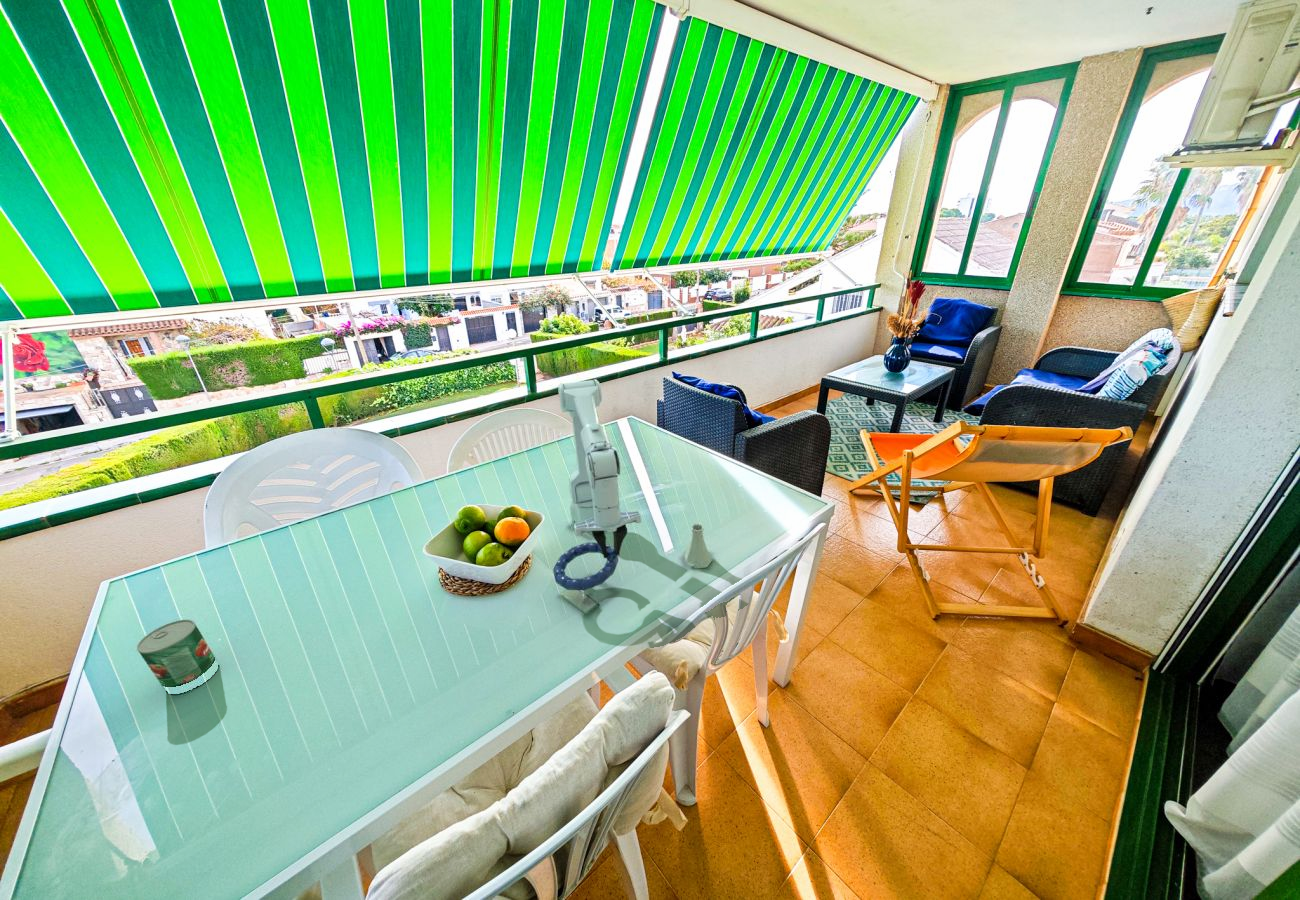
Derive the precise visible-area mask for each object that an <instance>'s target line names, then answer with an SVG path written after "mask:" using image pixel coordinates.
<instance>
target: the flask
mask: <svg viewBox="0 0 1300 900" xmlns="http://www.w3.org/2000/svg"><path fill="white" fill-rule="evenodd" d="M690 529H691V538H690V541H689V543H688V546H687V548H686V551H685V553H684V559H685V562H686V563H689V564H692V566H691V568H693V569H703V568H705V569H706V568H708V567H709V565H710V564H711V563H712V561H713V560H712V558H711V554H710V553H709V550H708V547H707V545H706V543H705V539H704V538H705V537H704V530H705V526H704V524H701V523H693V524H692V525H691V526H690Z"/></svg>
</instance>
